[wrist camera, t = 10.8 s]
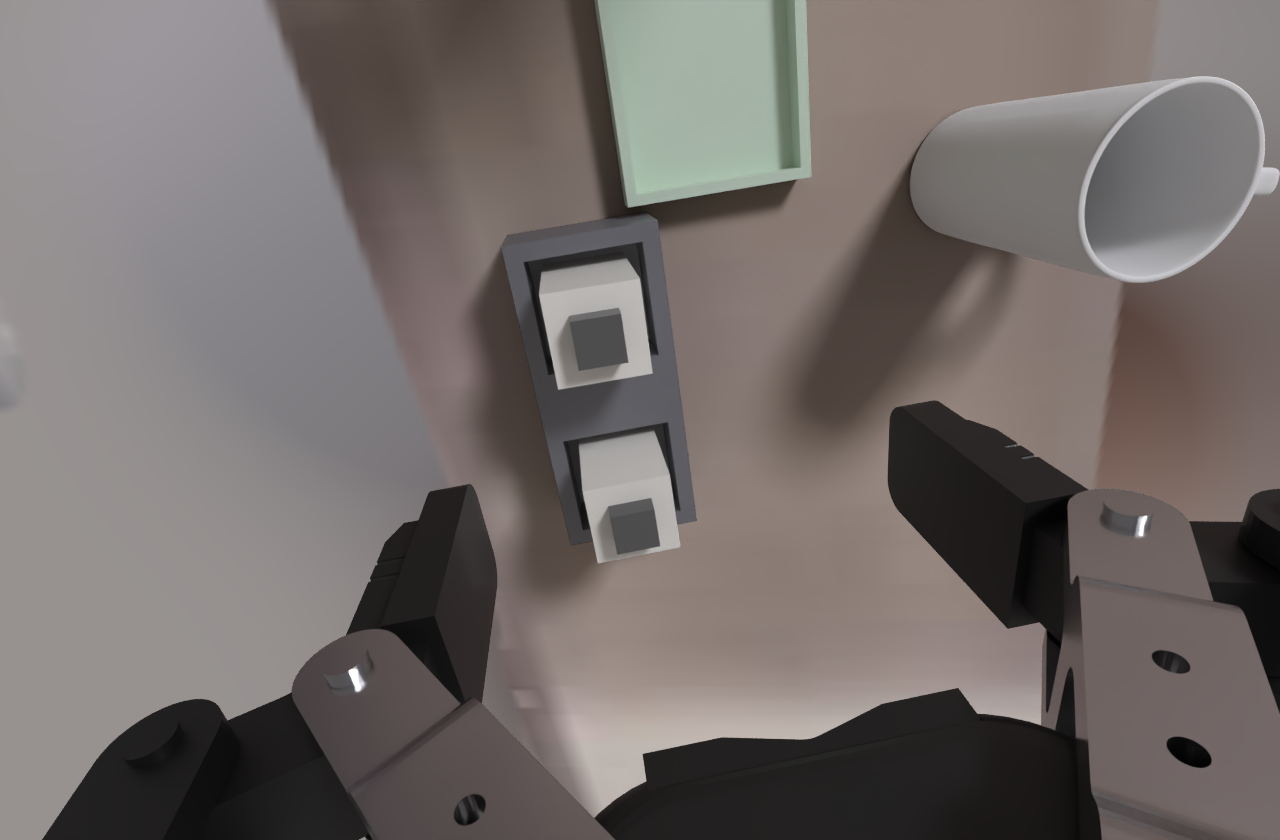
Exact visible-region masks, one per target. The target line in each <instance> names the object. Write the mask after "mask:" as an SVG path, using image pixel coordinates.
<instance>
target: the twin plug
mask: <svg viewBox="0 0 1280 840" xmlns="http://www.w3.org/2000/svg"><path fill="white" fill-rule="evenodd" d="M578 441H579V453H580V466H581V478H582V491H583V496H584V501H585V505H586V510H587V515H588V519H589V524H590V529H591V533H592V538H593V543H594V547H595V552H596V556H597V561H598V563H603V562H608V561H613V560H618V559H623V558H628V557H633V556H638V555H643V554H648V553H653V552H659V551H664V550H669V549H674V548H679V547H680V541H679V534H678V527H677V520H676V514H675V507H674V500H673V493H672V486H671V479H670V474H669V471H668V468H667V465H666V462H665V460H664V457H663V454H662V451H661V448H660V445H659V443H658V440H657V437H656V434H655V431H654V428H653V426H652V425H649V426H644V427H639V428H633V429H628V430H623V431H617V432H612V433H607V434H601V435H596V436H591V437H585V438H580V439H578Z"/></svg>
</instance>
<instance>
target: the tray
mask: <svg viewBox="0 0 1280 840" xmlns="http://www.w3.org/2000/svg"><path fill="white" fill-rule="evenodd" d="M594 3H595V10H596V17H597V23H598V30H599V37H600V43H601V50H602V57H603V63H604V70H605V77H606V83H607V90H608V97H609V103H610V110H611V117H612V124H613V130H614V137H615V144H616V150H617V157H618V164H619V170H620V177H621V184H622V190H623V197H624V204H625V206H627V207H628V208H629V207H635V206H641V205H647V204H653V203H659V202H665V201H671V200H677V199H683V198H689V197H695V196H700V195H706V194H712V193H718V192H724V191H730V190H736V189H742V188H748V187H754V186H760V185H766V184H772V183H778V182H784V181H790V180H796V179H802V178H808V177H811V148H810V116H809V84H808V51H807V19H806V0H594Z"/></svg>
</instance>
